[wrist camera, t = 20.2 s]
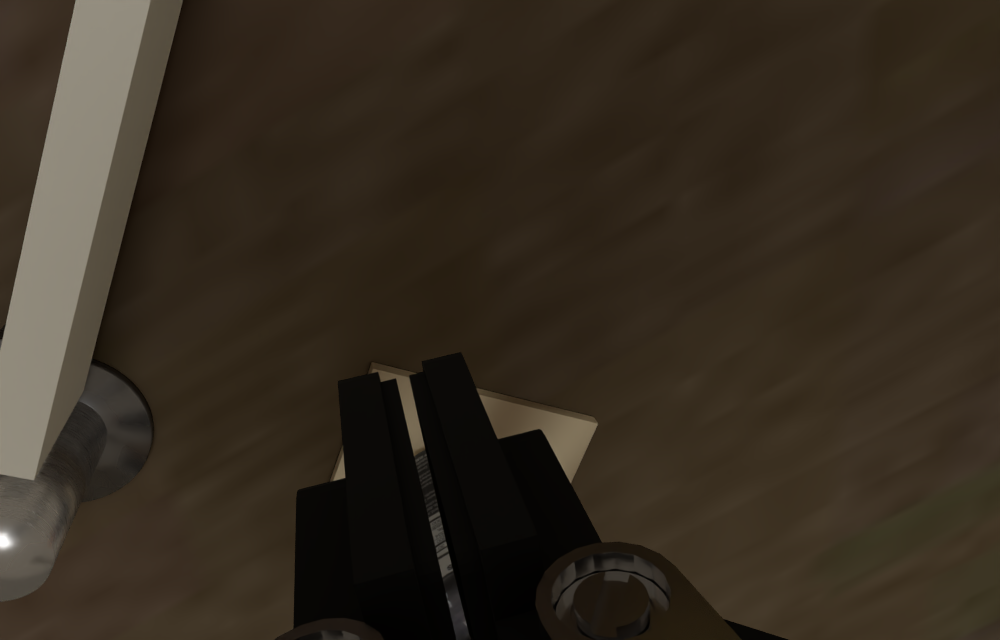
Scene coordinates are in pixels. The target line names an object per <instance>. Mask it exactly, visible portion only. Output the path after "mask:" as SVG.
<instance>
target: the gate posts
mask: <svg viewBox="0 0 1000 640" xmlns="http://www.w3.org/2000/svg"><path fill="white" fill-rule="evenodd" d="M5 326H6V324H5V325H4V326H3V328H2V329H1V330H0V349H1V344H2V340H3V335H4V330H5ZM153 430H154V426H153V418H152V414H151V411H150V408H149V406H148V404H147V402H146V400H145V398H144V396H143V395H142V393H141V392H140V391H139V389H138V388H137V387H136V386H135V385H134V384H133V383H132V382H131V381H130V380H129V379H128V378H127V377H125V376H124V375H123V374H121V373H120V372H118V371H117V370H115V369H114V368H112V367H110V366H108V365H106V364H104V363H101V362H99V361H96V360H93V359H92V360H91V364H90V368H89V371H88V375H87V379H86V383H85V387H84V391H83V393H82V395H81V396H80V398H79V400H78V402H77V404H76V405H75V407H74V409H73V411H72V413H71V415H70V416H69V418H68V420H67V422H66V424H65V425H64V427H63V429H62V431H61V433H60V434H59V436H58V438H57V440H56V442H55V443H54V445H53V447H52V449H51V451H50V452H49V454H48V456H47V458H46V460H45V461H44V463H43V465H42V467H41V469H40V470H39V472H38V474H37V476H36V478H35V480H29V479H24V478H18V477H13V476H7V475H2V474H0V602H1V601H9V600H14V599H17V598H21V597H23V596H26V595H28V594H30V593H31V592H33V591H35V590H36V589H37V588H39V587H40V586H41V585H42V584H43V583H44V582H45V580H46V579H47V578H48V576H49V574H50V572H51V570H52V567H53V565H54V563H55V560H56V558H57V556H58V554H59V551H60V549H61V547H62V545H63V542H64V540H65V538H66V535H67V533H68V531H69V529H70V526H71V524H72V522H73V519H74V517H75V515H76V513H77V510H78V508H79V506H80V504H81V502H86V501H91V500H95V499H98V498H102V497H104V496H107V495H109V494H111V493H113V492H115V491H117V490H119V489H120V488H122V487H123V486H124V485H126V484H127V483H128V482H130V481H131V480H132V479H133V478H134V477H135V476H136V475H137V473H138V472H139V471H140V469H141V468H142V466H143V465H144V463H145V461H146V459H147V456H148V453H149V451H150V448H151V445H152V440H153Z"/></svg>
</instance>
